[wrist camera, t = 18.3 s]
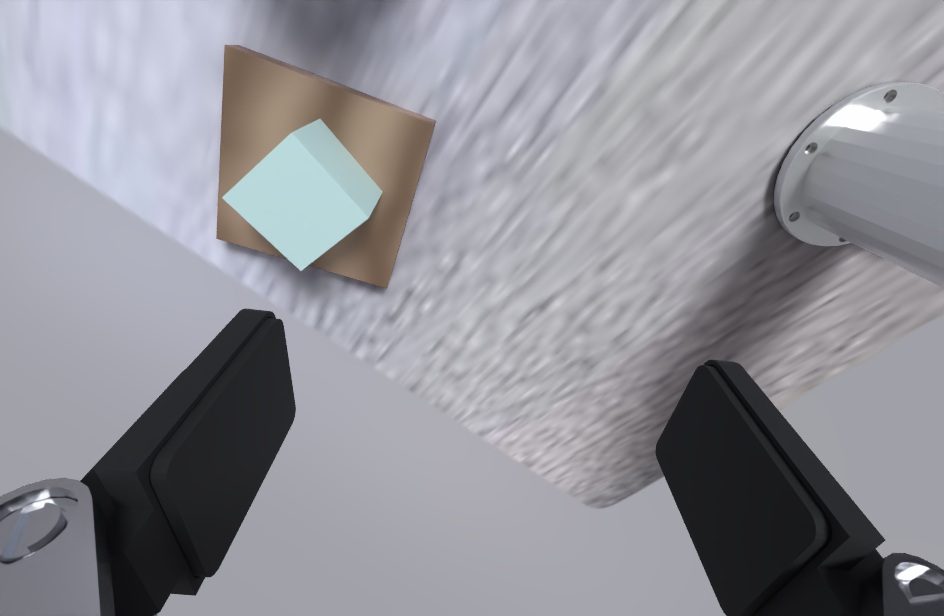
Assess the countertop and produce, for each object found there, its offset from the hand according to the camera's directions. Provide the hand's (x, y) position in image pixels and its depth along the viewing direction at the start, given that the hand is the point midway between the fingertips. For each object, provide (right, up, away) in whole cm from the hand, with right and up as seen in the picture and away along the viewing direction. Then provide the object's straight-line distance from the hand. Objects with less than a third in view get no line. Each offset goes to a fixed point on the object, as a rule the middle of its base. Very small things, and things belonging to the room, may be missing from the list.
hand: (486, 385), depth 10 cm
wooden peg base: (-12, +12, +23) cm, 29 cm away
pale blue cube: (-12, +11, +22) cm, 27 cm away
